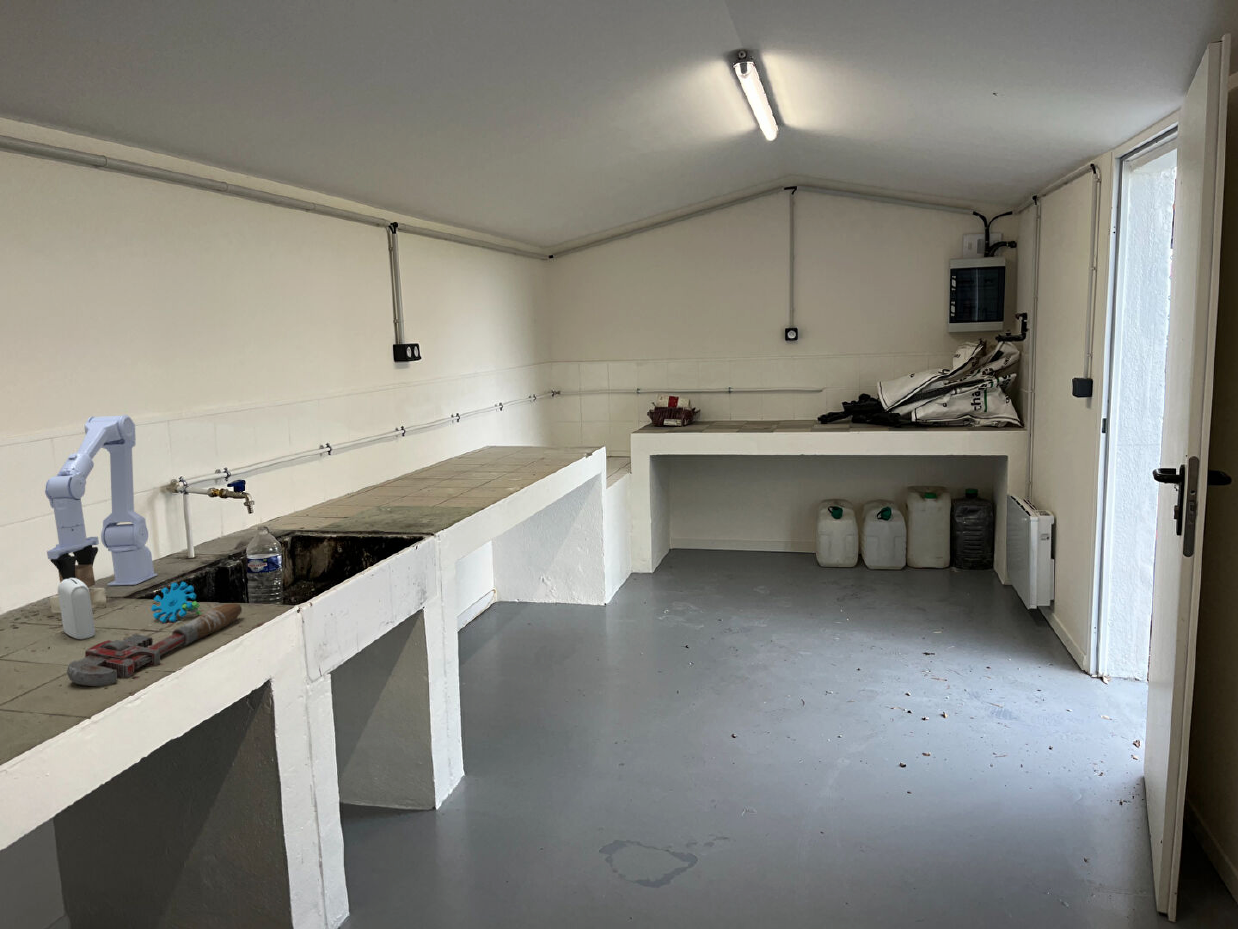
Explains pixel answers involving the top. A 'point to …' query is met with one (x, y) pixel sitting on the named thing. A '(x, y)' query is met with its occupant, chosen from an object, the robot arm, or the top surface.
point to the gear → (175, 602)
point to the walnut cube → (83, 574)
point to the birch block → (95, 596)
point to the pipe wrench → (143, 649)
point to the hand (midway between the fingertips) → (78, 581)
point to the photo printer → (76, 608)
